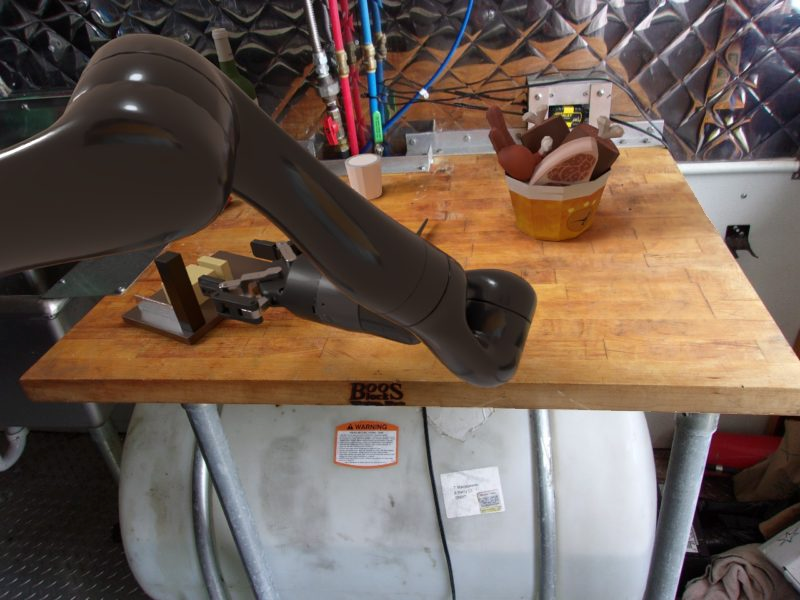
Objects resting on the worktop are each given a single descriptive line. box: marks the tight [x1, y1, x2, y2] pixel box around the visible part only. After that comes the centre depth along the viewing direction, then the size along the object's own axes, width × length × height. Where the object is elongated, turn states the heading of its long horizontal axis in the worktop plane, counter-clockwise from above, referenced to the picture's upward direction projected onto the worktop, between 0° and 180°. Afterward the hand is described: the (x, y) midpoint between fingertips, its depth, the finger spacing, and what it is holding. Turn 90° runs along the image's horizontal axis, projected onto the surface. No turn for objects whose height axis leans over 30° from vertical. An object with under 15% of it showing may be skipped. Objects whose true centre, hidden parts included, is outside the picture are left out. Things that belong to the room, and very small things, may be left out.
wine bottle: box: [211, 27, 260, 107], centre depth 117 cm, size 8×8×30 cm
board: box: [121, 250, 273, 346], centre depth 88 cm, size 20×14×1 cm
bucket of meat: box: [485, 104, 626, 242], centre depth 89 cm, size 20×16×20 cm
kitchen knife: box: [415, 217, 429, 236], centre depth 93 cm, size 16×1×2 cm, turn 162°
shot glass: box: [344, 153, 383, 201], centre depth 111 cm, size 7×7×7 cm
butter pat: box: [196, 255, 233, 281], centre depth 89 cm, size 2×5×4 cm, turn 60°
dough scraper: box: [133, 250, 206, 332], centre depth 79 cm, size 12×2×11 cm, turn 60°
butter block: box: [160, 263, 217, 305], centre depth 85 cm, size 6×5×4 cm
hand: (228, 265), depth 68 cm, fingers open, 8 cm apart
